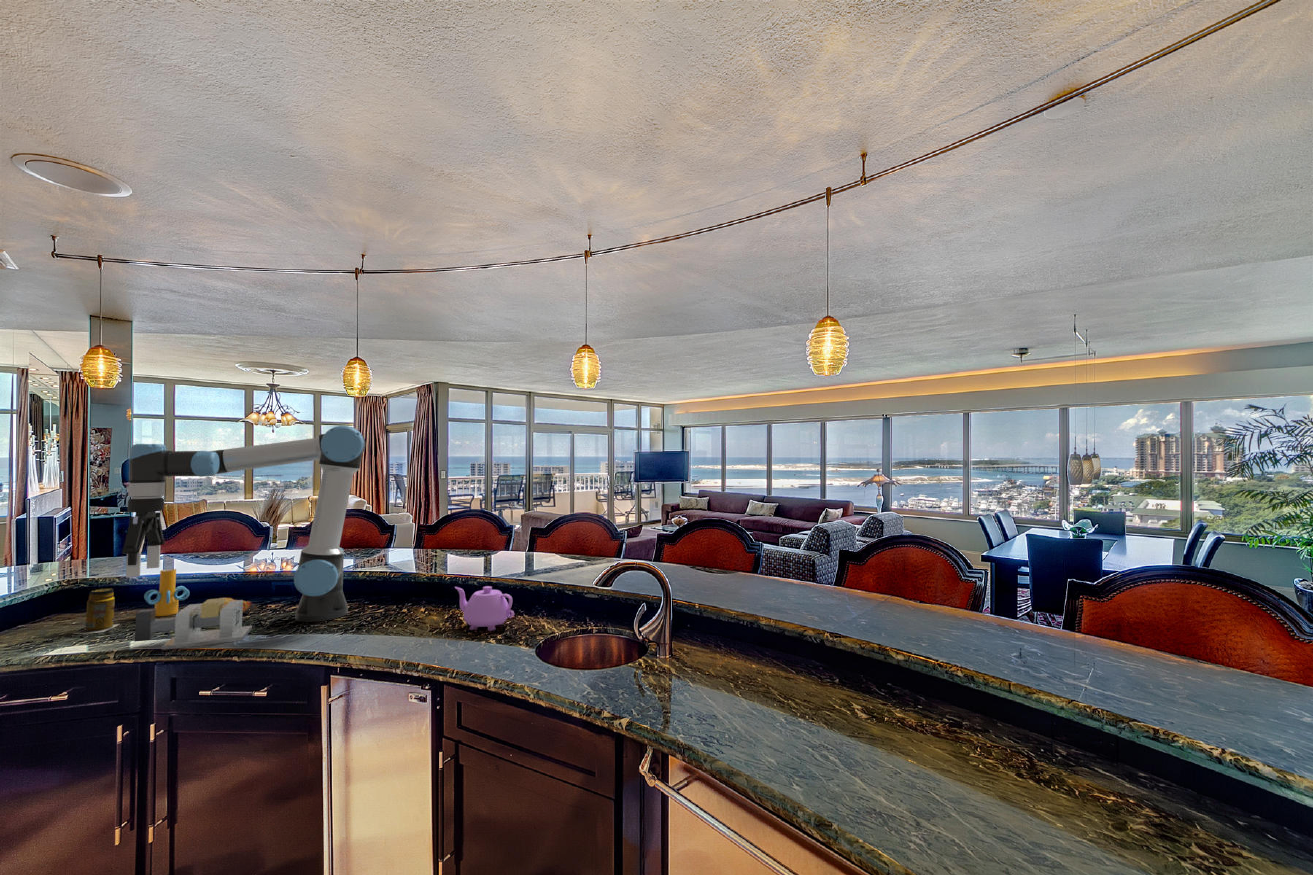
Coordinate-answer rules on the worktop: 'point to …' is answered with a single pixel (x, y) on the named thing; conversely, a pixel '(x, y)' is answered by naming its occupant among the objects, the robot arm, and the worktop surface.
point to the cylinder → (166, 594)
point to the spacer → (212, 607)
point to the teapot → (485, 608)
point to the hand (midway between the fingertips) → (143, 572)
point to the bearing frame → (196, 637)
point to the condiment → (99, 612)
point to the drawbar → (166, 623)
